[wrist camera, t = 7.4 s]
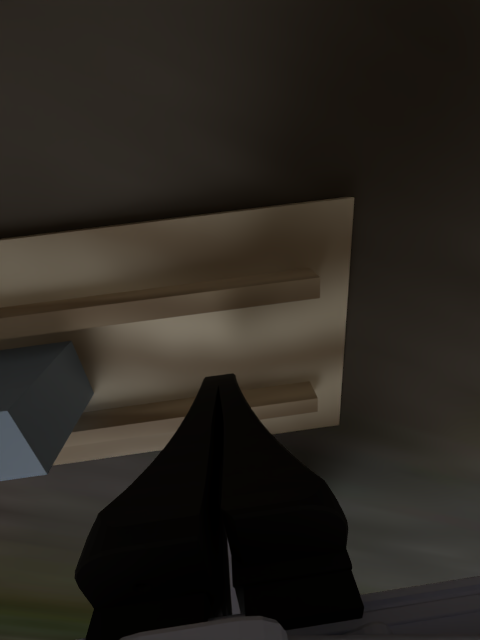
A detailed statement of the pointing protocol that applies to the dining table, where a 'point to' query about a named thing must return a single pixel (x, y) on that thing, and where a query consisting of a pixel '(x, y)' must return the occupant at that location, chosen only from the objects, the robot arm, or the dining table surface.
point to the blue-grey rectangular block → (38, 406)
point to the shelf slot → (188, 316)
